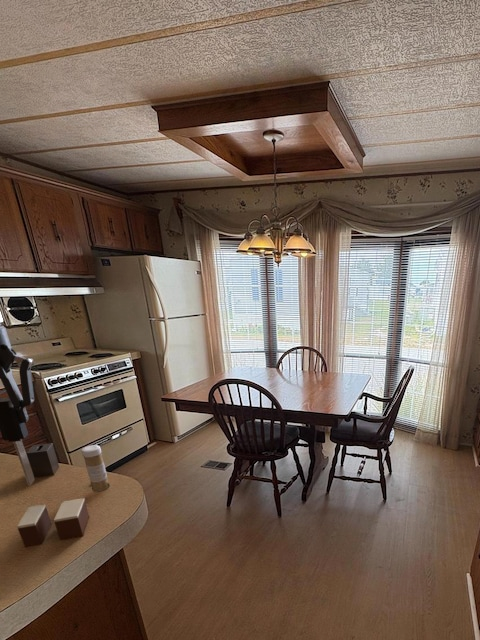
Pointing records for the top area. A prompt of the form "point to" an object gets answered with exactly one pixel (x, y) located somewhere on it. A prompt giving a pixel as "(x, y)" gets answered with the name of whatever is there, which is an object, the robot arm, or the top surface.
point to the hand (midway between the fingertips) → (16, 437)
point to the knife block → (43, 460)
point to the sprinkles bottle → (95, 467)
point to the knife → (15, 437)
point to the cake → (71, 519)
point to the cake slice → (34, 525)
